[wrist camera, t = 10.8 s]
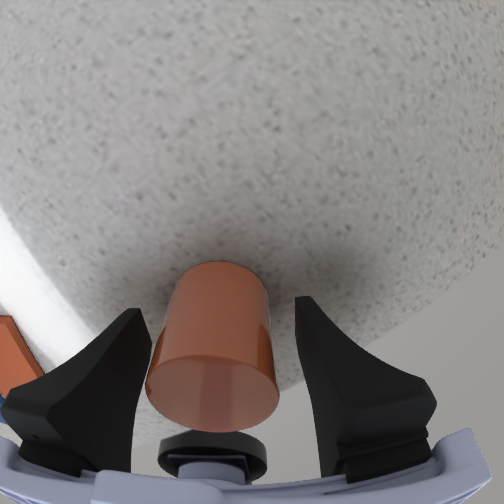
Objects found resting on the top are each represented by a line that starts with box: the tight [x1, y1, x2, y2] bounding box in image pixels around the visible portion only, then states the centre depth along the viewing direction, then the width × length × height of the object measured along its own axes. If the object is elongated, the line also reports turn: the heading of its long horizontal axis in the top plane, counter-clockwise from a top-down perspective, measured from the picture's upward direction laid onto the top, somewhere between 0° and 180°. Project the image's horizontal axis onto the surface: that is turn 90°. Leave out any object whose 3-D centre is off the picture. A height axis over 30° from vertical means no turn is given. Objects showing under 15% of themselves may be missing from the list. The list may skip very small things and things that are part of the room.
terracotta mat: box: [0, 316, 45, 398], centre depth 16 cm, size 9×7×1 cm
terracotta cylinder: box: [145, 261, 280, 432], centre depth 12 cm, size 4×4×6 cm
